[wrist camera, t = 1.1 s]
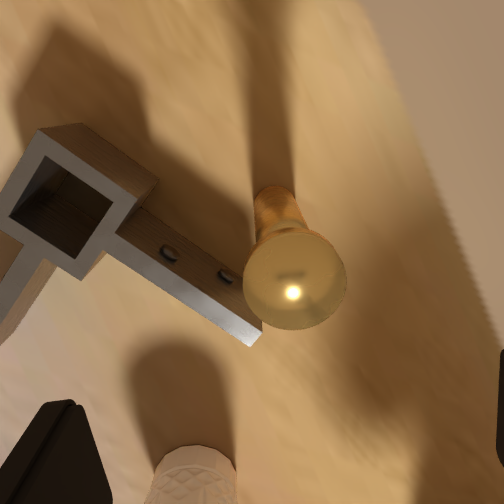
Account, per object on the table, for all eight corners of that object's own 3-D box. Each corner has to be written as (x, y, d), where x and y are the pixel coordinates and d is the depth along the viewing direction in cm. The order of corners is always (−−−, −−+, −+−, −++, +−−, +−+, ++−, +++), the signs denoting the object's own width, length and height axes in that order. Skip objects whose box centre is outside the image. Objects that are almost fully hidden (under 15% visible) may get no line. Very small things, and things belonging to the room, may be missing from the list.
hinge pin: (317, 200, 29) (367, 274, 17) (279, 246, 30) (301, 347, 18) (269, 164, 28) (286, 213, 16) (232, 212, 29) (222, 293, 17)
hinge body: (280, 266, 31) (287, 303, 25) (155, 415, 35) (137, 477, 29) (81, 122, 27) (37, 129, 22) (-32, 306, 31) (-93, 352, 26)
